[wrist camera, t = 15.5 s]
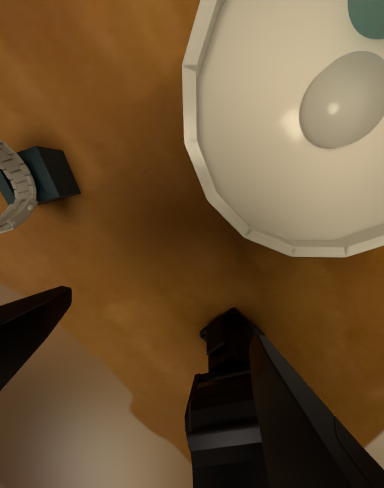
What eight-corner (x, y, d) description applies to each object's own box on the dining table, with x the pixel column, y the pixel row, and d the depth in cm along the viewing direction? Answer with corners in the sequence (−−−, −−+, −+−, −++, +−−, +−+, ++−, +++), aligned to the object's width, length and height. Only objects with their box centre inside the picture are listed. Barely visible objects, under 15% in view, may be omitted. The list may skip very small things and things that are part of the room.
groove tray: (562, 101, 15) (645, 83, 12) (294, 285, 22) (307, 301, 19) (408, -279, 10) (488, -458, 7) (132, 120, 17) (117, 110, 15)
